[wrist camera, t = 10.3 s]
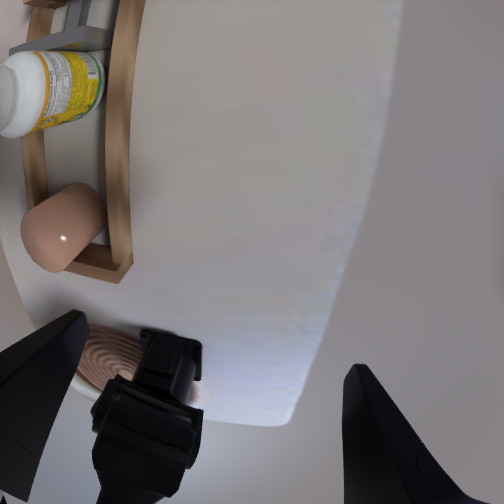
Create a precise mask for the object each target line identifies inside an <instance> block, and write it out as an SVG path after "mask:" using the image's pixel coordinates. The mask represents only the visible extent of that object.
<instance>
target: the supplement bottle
mask: <svg viewBox="0 0 504 504" xmlns="http://www.w3.org/2000/svg"><path fill="white" fill-rule="evenodd" d="M105 82H106V77H105V71H104V67H103V65H102V63H101V62H100V60H99V59H98V58H97V57H96V56H94V55H93V54H91V53H87V52H73V51H22V52H17V53H15V54H13V55H11V56H10V57H8V58H7V59H6V60H5V61H4V62H3V63H2V64H0V135H1V136H3V137H6V138H11V139H13V138H19V137H22V136H25V135H28V134H31V133H34V132H37V131H40V130H43V129H46V128H49V127H53V126H56V125H60V124H63V123H67V122H70V121H74V120H77V119H80V118H83V117H84V116H86V115H88V114H89V113H90V112H92V111H93V110H94V109H95V108H96V106H97V105H98V104H99V102H100V100H101V98H102V96H103V93H104V89H105Z"/></svg>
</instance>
